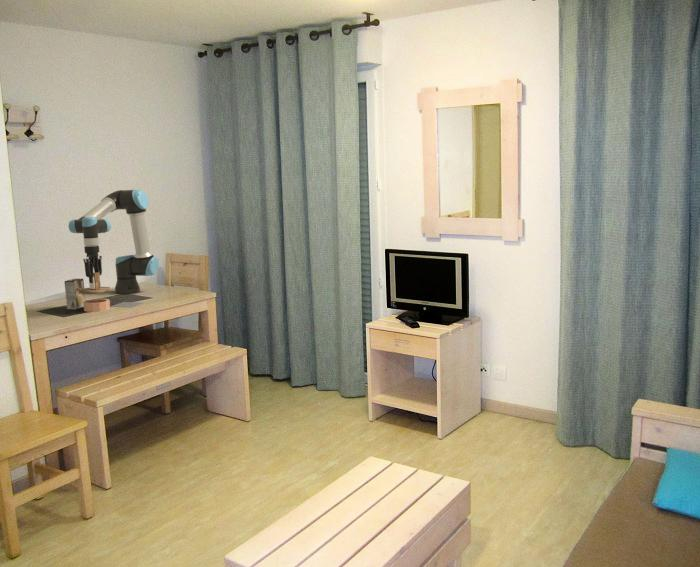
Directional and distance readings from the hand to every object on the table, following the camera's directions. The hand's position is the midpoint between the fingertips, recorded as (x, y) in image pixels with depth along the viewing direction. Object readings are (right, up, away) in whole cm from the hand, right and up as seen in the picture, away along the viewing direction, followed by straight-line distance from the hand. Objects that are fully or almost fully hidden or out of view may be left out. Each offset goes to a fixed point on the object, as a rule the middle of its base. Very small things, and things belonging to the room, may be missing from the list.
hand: (95, 287), depth 378 cm
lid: (0, -2, 0) cm, 2 cm away
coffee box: (-14, -12, +10) cm, 21 cm away
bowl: (0, -12, +2) cm, 12 cm away
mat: (+13, -10, +13) cm, 21 cm away
